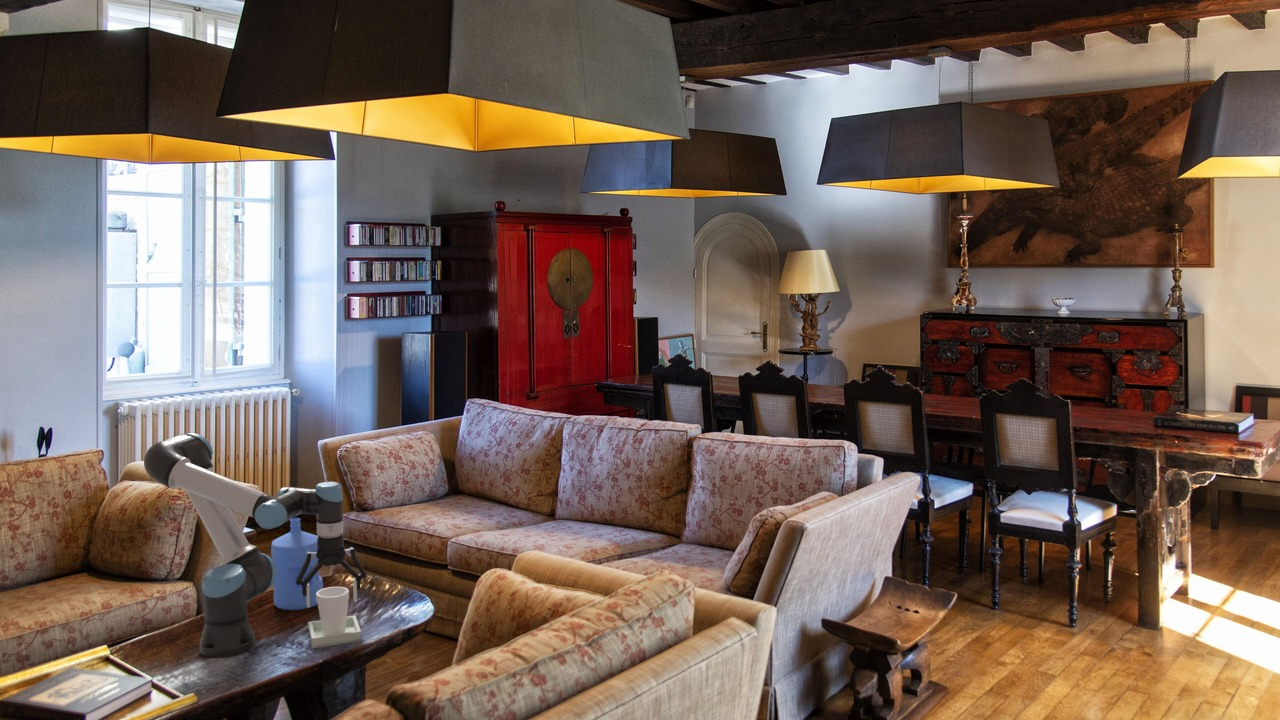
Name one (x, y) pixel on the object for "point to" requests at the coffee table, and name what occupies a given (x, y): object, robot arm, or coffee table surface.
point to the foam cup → (333, 609)
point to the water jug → (294, 568)
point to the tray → (349, 636)
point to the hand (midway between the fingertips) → (331, 603)
